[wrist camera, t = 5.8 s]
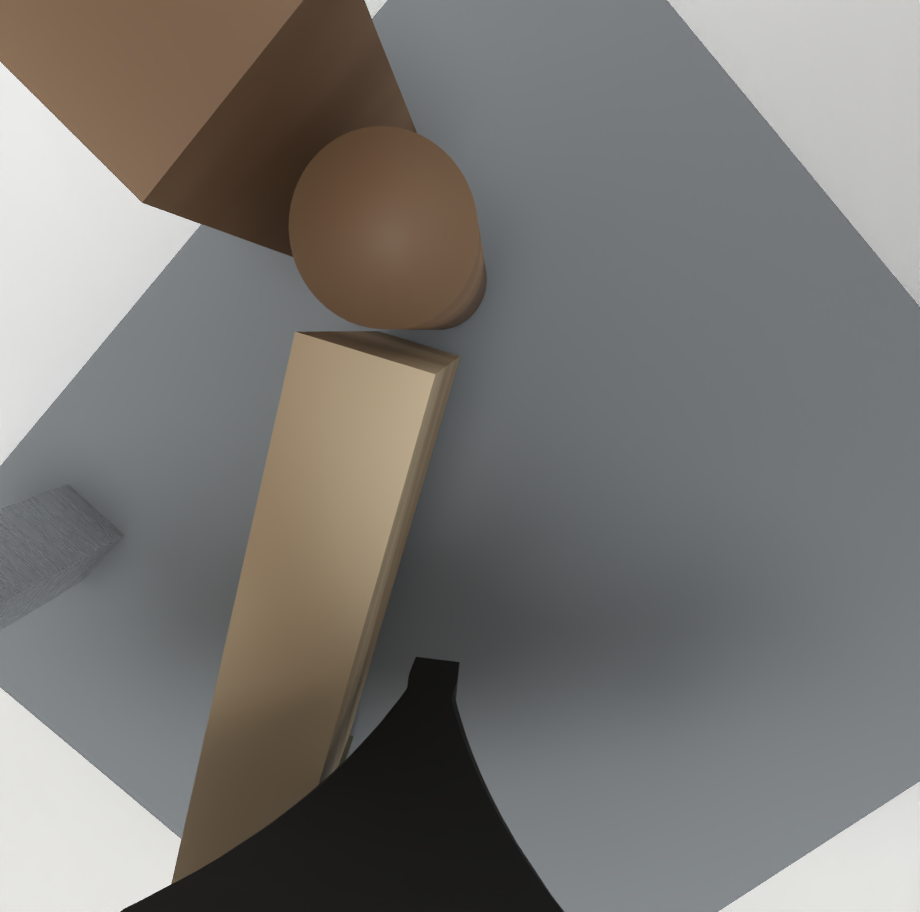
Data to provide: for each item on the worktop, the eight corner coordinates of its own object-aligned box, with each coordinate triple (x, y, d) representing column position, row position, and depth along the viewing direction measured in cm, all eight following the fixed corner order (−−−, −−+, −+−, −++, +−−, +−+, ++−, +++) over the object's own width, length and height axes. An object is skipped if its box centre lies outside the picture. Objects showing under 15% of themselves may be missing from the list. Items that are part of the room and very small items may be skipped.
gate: (499, 243, 10) (503, 159, 5) (337, 791, 13) (236, 1087, 8) (403, 214, 10) (313, 100, 5) (262, 768, 13) (112, 1049, 8)
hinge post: (348, 90, 11) (85, -340, 4) (438, 187, 11) (343, -51, 4) (266, 188, 11) (-102, -39, 4) (354, 279, 11) (142, 203, 5)
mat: (526, -149, 10) (527, -169, 9) (1152, 606, 12) (1174, 616, 11) (-91, 588, 14) (-108, 596, 13) (464, 1057, 16) (463, 1075, 15)
